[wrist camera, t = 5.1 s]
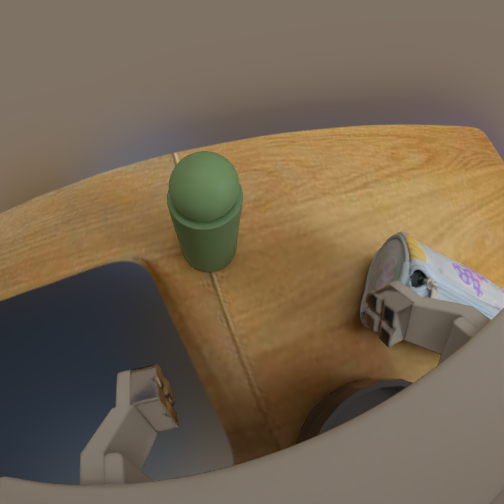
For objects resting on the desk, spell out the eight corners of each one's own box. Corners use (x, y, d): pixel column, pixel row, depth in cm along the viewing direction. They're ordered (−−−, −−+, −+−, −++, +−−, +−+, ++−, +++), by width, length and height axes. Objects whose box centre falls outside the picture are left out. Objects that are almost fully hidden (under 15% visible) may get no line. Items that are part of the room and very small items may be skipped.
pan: (332, 517, 18) (347, 534, 14) (269, 431, 21) (278, 443, 17) (429, 440, 21) (452, 446, 17) (384, 351, 25) (407, 349, 21)
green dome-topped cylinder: (197, 281, 25) (178, 217, 14) (174, 236, 27) (147, 152, 15) (245, 257, 27) (263, 180, 15) (220, 214, 28) (222, 123, 17)
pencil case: (341, 329, 25) (398, 311, 16) (360, 248, 28) (410, 203, 19) (477, 368, 24) (534, 360, 16) (484, 304, 28) (536, 284, 19)
